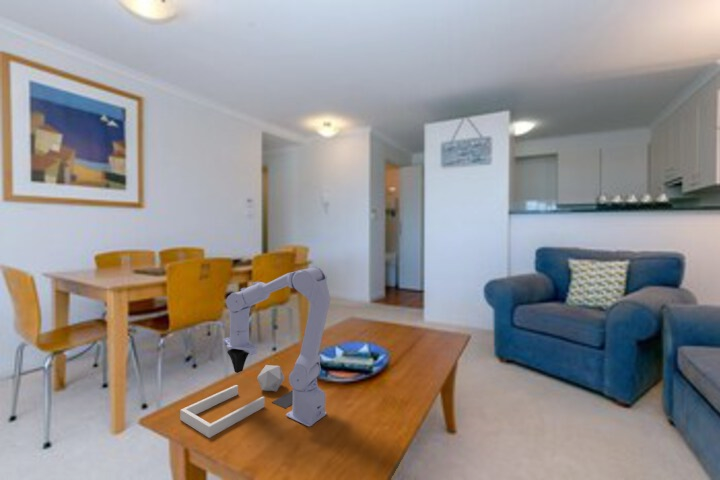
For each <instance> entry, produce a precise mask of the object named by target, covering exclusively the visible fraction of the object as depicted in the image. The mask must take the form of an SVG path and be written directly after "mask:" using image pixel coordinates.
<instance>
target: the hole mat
mask: <svg viewBox="0 0 720 480" xmlns="http://www.w3.org/2000/svg"><path fill="white" fill-rule="evenodd" d="M271 403H272V404H274V405H276V406H279V407H280V408H283V409H288V408H289V407H290V406H292V403H293V389H292V390H291V391H289V392H288V393H286V394H284V395H282V396H280V397H279V398H277V399H275V400H273V401H271Z"/></svg>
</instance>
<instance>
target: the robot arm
mask: <svg viewBox="0 0 720 480" xmlns="http://www.w3.org/2000/svg"><path fill="white" fill-rule="evenodd" d="M327 277H328V276H327V275H326V274H325V273H324V272H323V270H322V268H320V267H317V266H310V267H309V268H304V269H299V270H296V271H293V272H287V273H286V274H283V275H280V276H278V277H277V278H276V279H273V280H272V281H271V280H270V281H269V282H267V283H266V282H262V281H254V282H252V285H250V286H248V287H242V288H240V291H237V292H231V293H230V294H229V295H228V296H227V297H226V300H225V302H226V303H225V305H226V307H227V309H228V310H229V337H225V338H223V339H222V346H226V349H227V354H228V356H229V358H230V360H231V363H232V366H233V370H234V372H235V373H236V374H238V373H241V372H243V371H244V367H245V363H246V360H247V359H248V357H249V356H253V355H256V354H257V352H258V351H257V350H258V349H257V346H254V345H253V344H252V343H251V342H250V339H249V337H250V312H251V307H252V306H254V305H257V304H259V303H261V302H265V301H266V300H267V299H269V297H270V295H271V294H272V293H274V292H276V291H279V290H281V289H284V288H286V287H289V288H290V289H293V288H294V289H295V290H296V291H297V292H298V293H300V294H301V295H302V296H304V297H305V298H306V299H307V300H308V301H309V303H310V306H309V307H310V308H309V312H308V315H307V316H308V317H307V322H306V325H305V331H304V334H303V339H302V344H301V348H300V352H299V356H298V357H297V359H296V361H295V363H294V367H293V369H292V370H291V372H290V373H289V375H288V382H289V385H290V386H291V387H292V390H293V403H292V405H291V406H292V410H290V411H288V412H287V413H286V414H285V417H287V418H290V419H291V420H293V421H296V422H298V423H301V424H302V425H304V426H307V427H311V426H313V425H314V424H316V423H317V422H318V421H319V420H321V419H322V418H323V417H325V416H327V415H328V414H327V413H328V412H327V411H326V393H325V391H324V390H323V389H321V388H320V386H318V376H319V375H320V374H321V369H322V368H321V367H322V366H321V363H320V362H321V356H320V355H319V352H320V348H321V343H322V339H323V333H324V331H325V330H324V328H325V325H326V321H327V316H328V313H329V312H328V311H329V307H330V302H331V295H330V292H329V288H328V283H327V280H328V279H327Z"/></svg>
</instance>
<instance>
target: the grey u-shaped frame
mask: <svg viewBox="0 0 720 480" xmlns="http://www.w3.org/2000/svg"><path fill="white" fill-rule="evenodd" d="M237 395H239V385H237V384H234V385H232V386H230V387H228V388H225V389H223V390H221V391H219V392H216V393H215V394H212V395H210V396H208V397H206V398H204V399H201V400H199V401H196V402H195V403H192V404H190V405H188V406H186V407H183V408H181V409H180V410H179V413H180V417H179V419H180V421H181V422H183V423H184V424H187V426H189V427H190V428H193V429H194V430H196V431H197V432H199V433H201V434H202V435H203V436H205V437H207V438H208V439H210V438H212V437H214V436H215V435H216V434H219V433H220V432H222V431H224V430H227V429H228V428H230V427H231V426H233V425H235V424H236V423H239V422H240V421H242V420H244V419H246V418H247V417H249V416H250V415H253V414H255V413H256V412H258V411H259V410H262V409H263V408H265V405H266V404H265V403H266V402H265V396H261V397H259V398H257V399H255V400H253V401H251V402H249V403H246V404H245V405H244V406H241V407H239V408H238V409H235V410H234V411H232V412H230V413H228V414H226V415H224V416H222V417H220V418H219V419H217V420H215V421H213V422H211V423H210V422H209V421H206V420H205V419H203V418H202V417H200V416H198V414H200V413H202V412H204V411H207V410H209V409H211V408H213V407H214V406H217V405H218V404H221V403H224V402H225V401H227V400H230V399H232V398H233V397H235V396H237Z"/></svg>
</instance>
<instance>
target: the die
mask: <svg viewBox="0 0 720 480" xmlns="http://www.w3.org/2000/svg"><path fill="white" fill-rule="evenodd" d="M256 380H257V382H258V384H259V386H260V389H261V391H262V392H263V391H265V392H278V390H279V388H280V387H281V385H282V384H283V382H284V381H285V376H284V373H283V371H282V368H281V366H280V365H273V364H265V366H264V367H263V368H262V369H261V371H260V373H259V374H258V375H257V377H256Z"/></svg>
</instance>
